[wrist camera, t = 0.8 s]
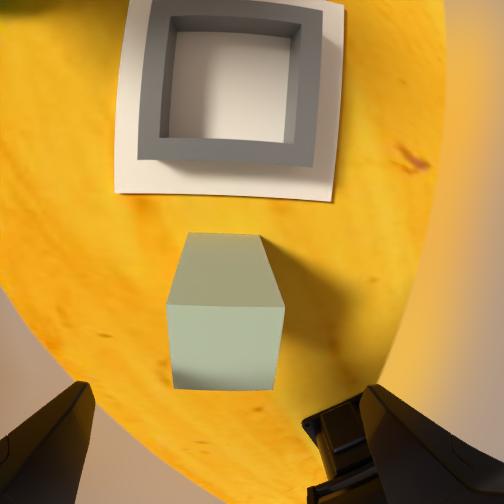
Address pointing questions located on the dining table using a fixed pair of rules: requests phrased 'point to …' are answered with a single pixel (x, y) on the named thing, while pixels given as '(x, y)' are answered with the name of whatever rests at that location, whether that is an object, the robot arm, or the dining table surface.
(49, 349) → the dining table surface
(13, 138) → the dining table surface
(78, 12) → the dining table surface
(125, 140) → the socket
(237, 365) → the sage block
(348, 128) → the dining table surface
